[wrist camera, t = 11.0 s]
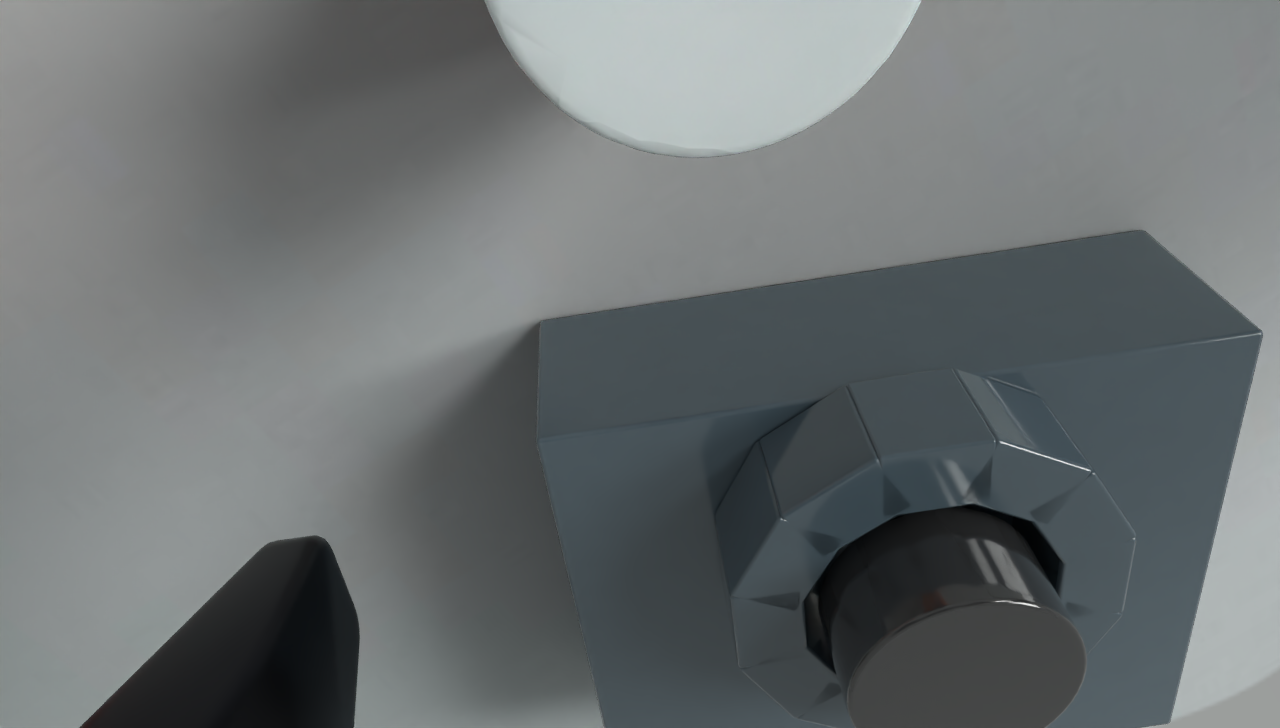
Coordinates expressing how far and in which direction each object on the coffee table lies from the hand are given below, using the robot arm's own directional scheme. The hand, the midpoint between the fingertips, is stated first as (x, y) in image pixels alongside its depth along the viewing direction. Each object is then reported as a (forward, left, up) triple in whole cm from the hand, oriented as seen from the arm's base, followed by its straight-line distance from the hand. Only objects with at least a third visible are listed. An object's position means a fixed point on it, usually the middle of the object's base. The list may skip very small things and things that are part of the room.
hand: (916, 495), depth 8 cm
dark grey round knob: (-2, +7, -6) cm, 10 cm away
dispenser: (-2, +9, -12) cm, 15 cm away
